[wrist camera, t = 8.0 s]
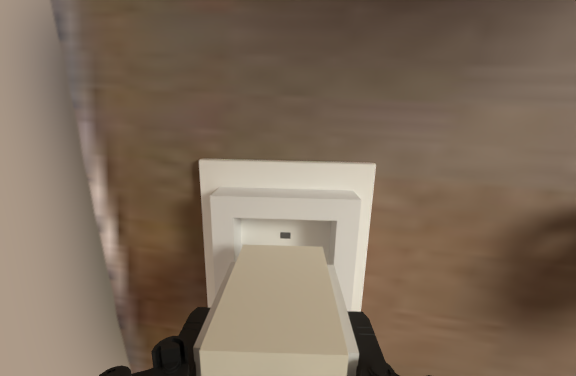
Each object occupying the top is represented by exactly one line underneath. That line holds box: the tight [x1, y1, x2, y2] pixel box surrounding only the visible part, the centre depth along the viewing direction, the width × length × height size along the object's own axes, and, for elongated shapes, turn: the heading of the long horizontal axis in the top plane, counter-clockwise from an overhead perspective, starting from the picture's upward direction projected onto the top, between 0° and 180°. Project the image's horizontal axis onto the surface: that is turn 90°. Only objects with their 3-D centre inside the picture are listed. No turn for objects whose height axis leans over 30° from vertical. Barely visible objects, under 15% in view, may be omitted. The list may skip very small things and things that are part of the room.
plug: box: [199, 245, 349, 376], centre depth 12 cm, size 5×5×10 cm
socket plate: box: [199, 158, 376, 312], centre depth 21 cm, size 20×13×3 cm, turn 179°
